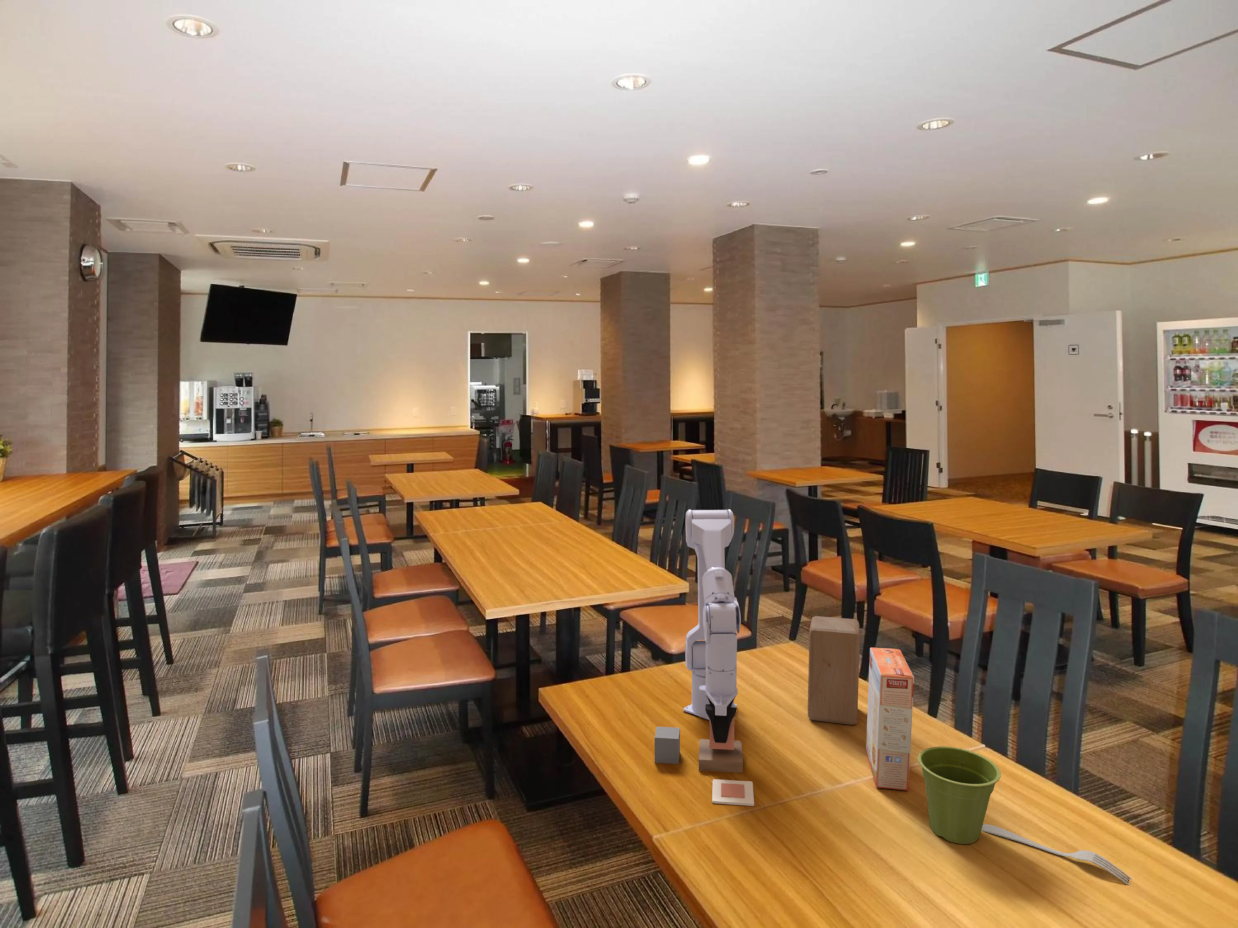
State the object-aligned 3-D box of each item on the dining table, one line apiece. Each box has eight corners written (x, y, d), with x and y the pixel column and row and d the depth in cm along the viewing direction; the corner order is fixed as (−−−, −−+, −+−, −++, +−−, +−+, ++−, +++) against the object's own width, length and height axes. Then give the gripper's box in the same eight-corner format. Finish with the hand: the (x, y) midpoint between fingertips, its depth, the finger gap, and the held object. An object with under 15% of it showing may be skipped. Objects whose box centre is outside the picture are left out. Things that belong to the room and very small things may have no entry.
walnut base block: (699, 750, 146) (699, 738, 146) (741, 753, 145) (741, 740, 145) (698, 772, 138) (698, 759, 138) (742, 774, 137) (742, 761, 137)
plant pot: (950, 861, 112) (953, 789, 110) (899, 816, 123) (901, 751, 122) (1015, 847, 115) (1019, 777, 113) (959, 805, 126) (962, 741, 125)
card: (712, 781, 134) (712, 777, 134) (752, 783, 133) (752, 780, 133) (712, 802, 127) (712, 799, 127) (754, 805, 126) (754, 802, 126)
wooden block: (807, 721, 157) (809, 628, 155) (809, 701, 167) (811, 614, 164) (857, 727, 154) (860, 633, 152) (856, 706, 164) (859, 618, 161)
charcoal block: (656, 750, 145) (656, 726, 145) (679, 752, 145) (679, 727, 144) (654, 762, 141) (654, 737, 140) (678, 764, 140) (678, 738, 140)
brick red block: (709, 736, 144) (710, 711, 143) (733, 738, 143) (733, 713, 142) (709, 748, 139) (709, 722, 139) (734, 749, 138) (734, 723, 138)
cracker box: (911, 792, 130) (915, 676, 128) (874, 788, 131) (878, 674, 129) (898, 752, 144) (901, 647, 141) (865, 750, 145) (868, 645, 142)
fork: (982, 837, 122) (981, 821, 121) (1137, 881, 107) (1136, 862, 107) (977, 845, 119) (976, 828, 119) (1133, 891, 105) (1132, 871, 105)
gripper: (700, 650, 147) (700, 716, 149) (698, 680, 133) (697, 753, 134) (737, 652, 146) (736, 718, 148) (738, 682, 132) (737, 755, 133)
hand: (720, 735), depth 141 cm, fingers closed on brick red block, 4 cm apart
